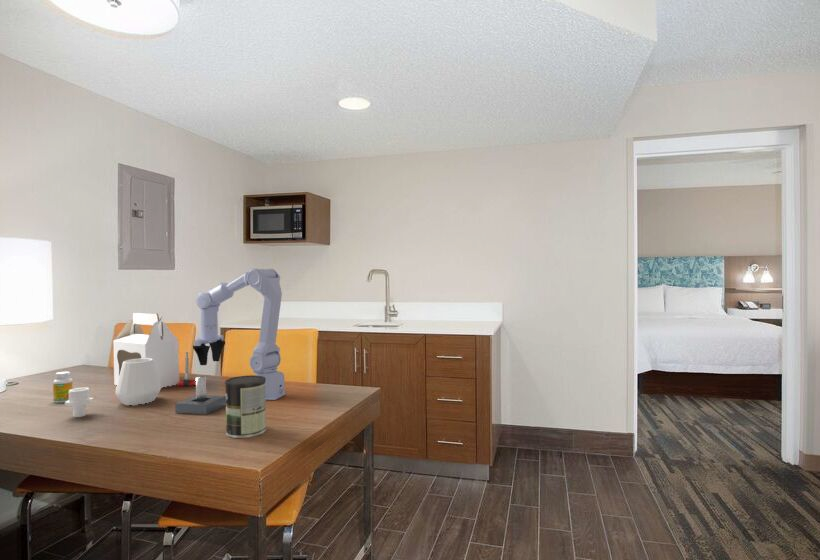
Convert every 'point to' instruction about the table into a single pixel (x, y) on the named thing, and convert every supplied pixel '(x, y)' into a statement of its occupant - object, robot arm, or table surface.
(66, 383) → the supplement bottle
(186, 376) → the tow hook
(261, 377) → the coffee can
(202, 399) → the pin
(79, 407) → the pipe fitting
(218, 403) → the clevis block
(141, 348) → the gable box
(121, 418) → the table surface
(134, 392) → the cup
